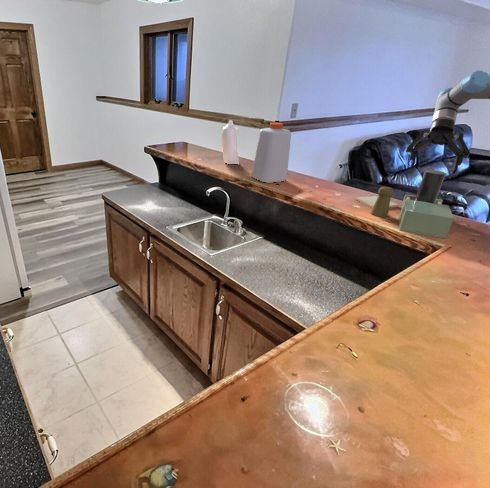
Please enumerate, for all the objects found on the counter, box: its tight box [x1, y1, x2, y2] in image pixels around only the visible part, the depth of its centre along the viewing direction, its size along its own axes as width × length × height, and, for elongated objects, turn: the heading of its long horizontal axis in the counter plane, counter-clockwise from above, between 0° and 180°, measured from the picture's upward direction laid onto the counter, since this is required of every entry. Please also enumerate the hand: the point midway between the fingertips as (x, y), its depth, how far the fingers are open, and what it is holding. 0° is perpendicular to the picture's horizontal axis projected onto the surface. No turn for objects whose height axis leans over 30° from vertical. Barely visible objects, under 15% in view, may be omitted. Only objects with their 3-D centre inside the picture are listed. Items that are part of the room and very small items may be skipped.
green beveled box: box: [398, 199, 455, 240], centre depth 126 cm, size 15×14×8 cm
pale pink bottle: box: [221, 119, 240, 165], centre depth 207 cm, size 12×11×25 cm
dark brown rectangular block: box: [415, 169, 447, 203], centre depth 132 cm, size 6×6×16 cm
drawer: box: [400, 193, 444, 209], centre depth 136 cm, size 18×12×6 cm
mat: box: [354, 195, 400, 209], centre depth 151 cm, size 12×12×1 cm
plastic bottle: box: [251, 122, 292, 184], centre depth 176 cm, size 15×15×28 cm
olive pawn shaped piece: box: [370, 186, 395, 218], centre depth 137 cm, size 6×6×11 cm
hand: (432, 169), depth 135 cm, fingers open, 13 cm apart
